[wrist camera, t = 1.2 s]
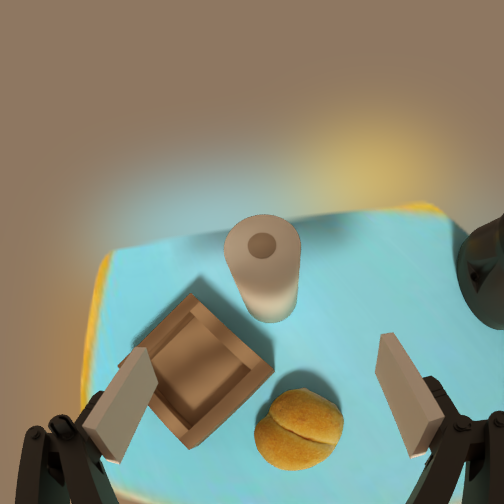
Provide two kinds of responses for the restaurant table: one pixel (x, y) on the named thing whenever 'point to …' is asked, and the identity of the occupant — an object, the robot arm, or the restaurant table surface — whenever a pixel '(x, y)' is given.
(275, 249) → the paper roll
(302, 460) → the bread roll
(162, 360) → the tray
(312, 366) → the restaurant table surface
